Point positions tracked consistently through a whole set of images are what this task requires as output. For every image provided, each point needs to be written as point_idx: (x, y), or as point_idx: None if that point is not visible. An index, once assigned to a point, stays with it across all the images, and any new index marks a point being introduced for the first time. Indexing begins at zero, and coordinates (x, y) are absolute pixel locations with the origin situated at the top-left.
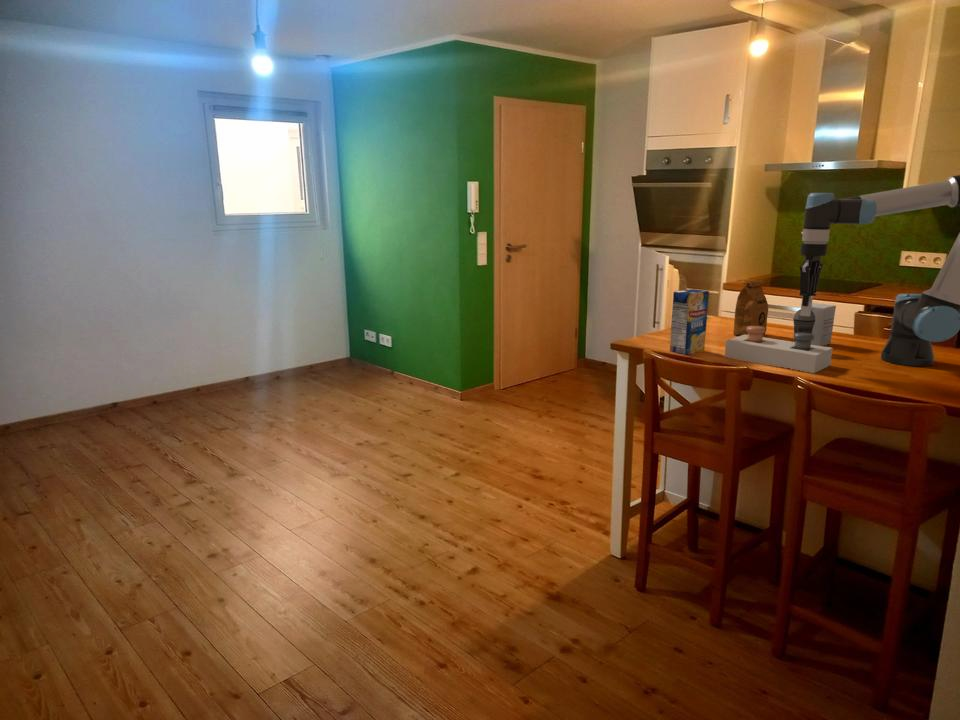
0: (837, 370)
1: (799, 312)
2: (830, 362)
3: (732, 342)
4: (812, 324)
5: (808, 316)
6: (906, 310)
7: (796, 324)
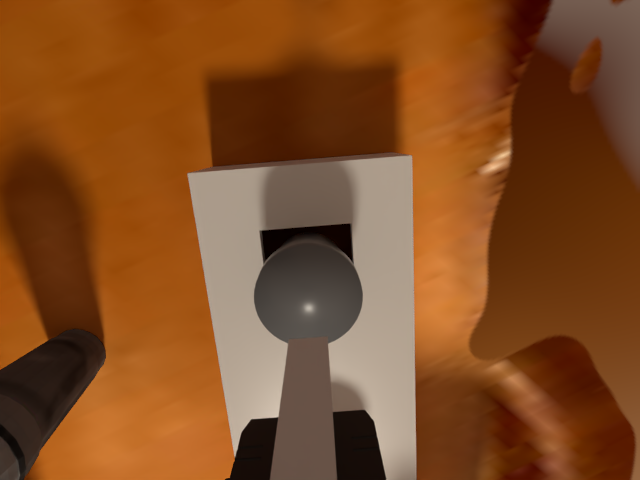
0: (269, 109)
1: None
2: (211, 167)
3: None
4: None
5: (327, 337)
6: None
7: (37, 454)
